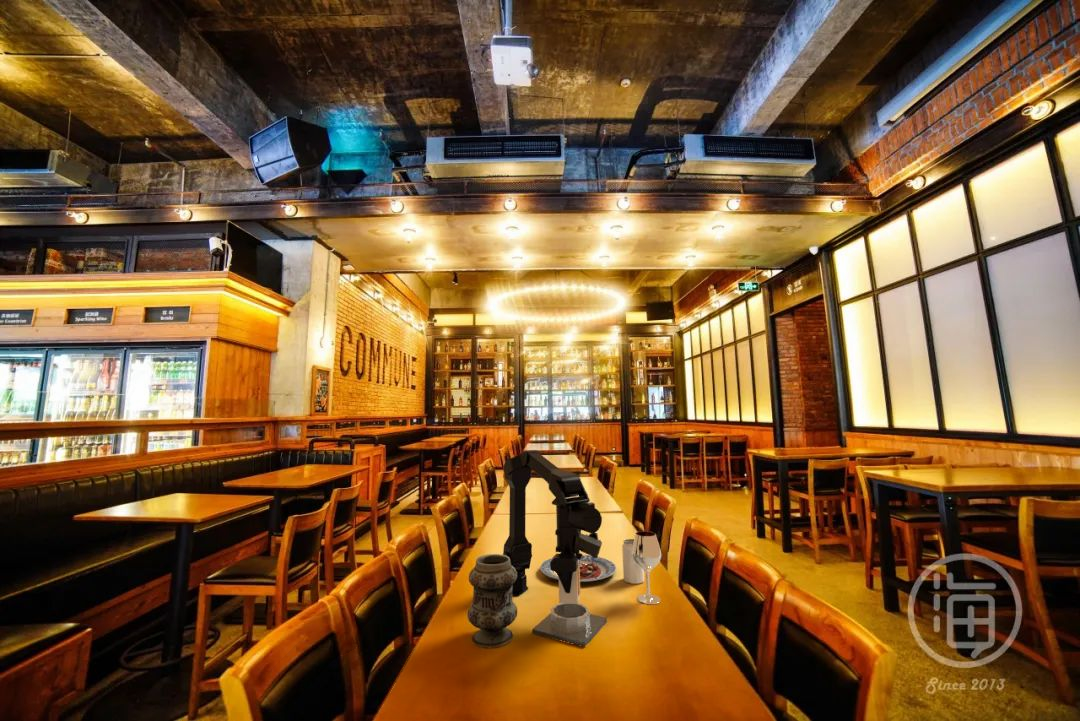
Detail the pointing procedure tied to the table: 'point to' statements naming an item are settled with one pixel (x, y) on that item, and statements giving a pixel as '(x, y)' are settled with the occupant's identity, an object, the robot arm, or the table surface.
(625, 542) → the can
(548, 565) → the ceramic plate
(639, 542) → the wineglass
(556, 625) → the duct collar
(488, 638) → the apothecary jar
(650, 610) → the table surface
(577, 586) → the white block
